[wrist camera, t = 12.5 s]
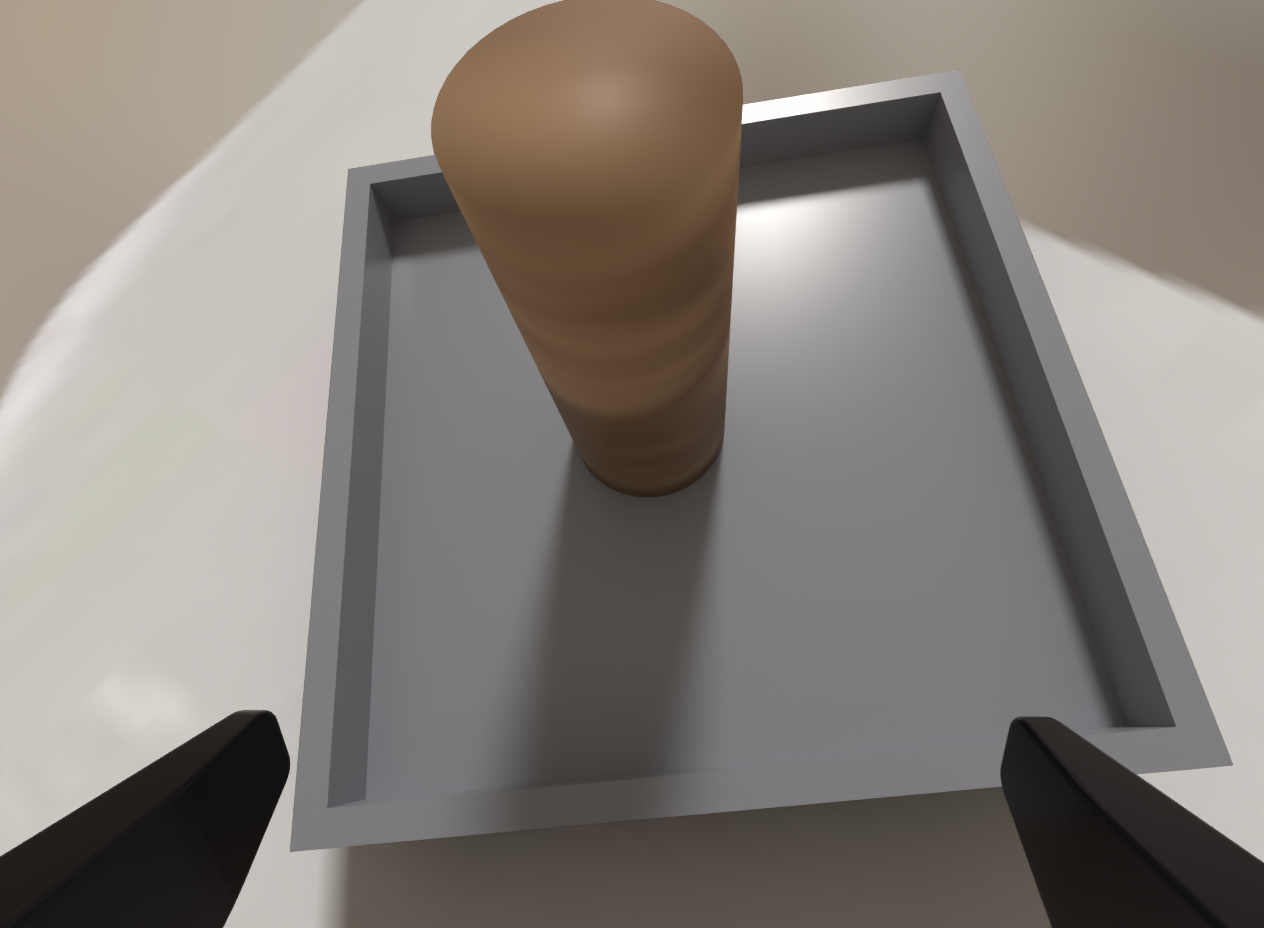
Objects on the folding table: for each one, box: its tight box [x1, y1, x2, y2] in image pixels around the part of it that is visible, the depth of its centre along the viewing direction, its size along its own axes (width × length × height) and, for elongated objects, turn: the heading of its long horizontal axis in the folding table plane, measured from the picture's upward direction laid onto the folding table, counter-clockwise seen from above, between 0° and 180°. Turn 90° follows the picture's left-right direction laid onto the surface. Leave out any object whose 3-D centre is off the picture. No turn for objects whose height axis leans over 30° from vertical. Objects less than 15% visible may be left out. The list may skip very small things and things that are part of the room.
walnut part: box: [431, 0, 743, 497], centre depth 14 cm, size 4×4×11 cm
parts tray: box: [290, 70, 1233, 852], centre depth 20 cm, size 20×20×4 cm
